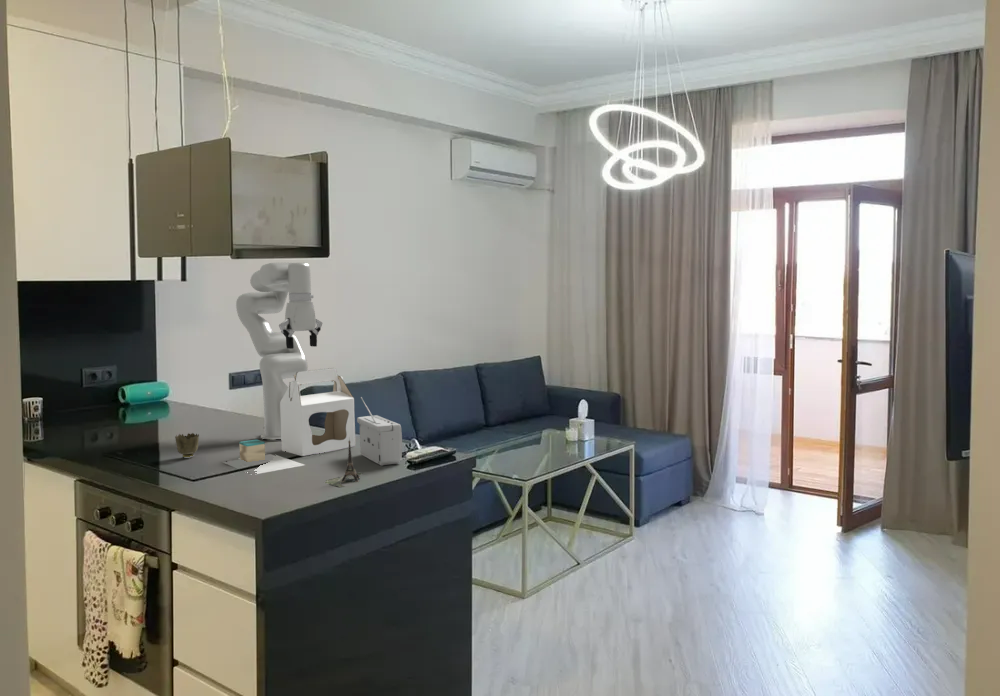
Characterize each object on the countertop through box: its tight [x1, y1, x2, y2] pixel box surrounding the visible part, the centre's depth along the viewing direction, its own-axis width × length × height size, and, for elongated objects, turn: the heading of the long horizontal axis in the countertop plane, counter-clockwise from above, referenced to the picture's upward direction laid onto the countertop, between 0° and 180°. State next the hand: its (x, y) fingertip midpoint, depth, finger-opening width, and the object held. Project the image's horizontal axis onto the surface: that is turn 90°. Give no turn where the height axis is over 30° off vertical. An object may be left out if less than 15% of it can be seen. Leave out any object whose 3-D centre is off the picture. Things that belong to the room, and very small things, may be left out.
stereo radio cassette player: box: [356, 396, 403, 467], centre depth 261 cm, size 21×8×20 cm, turn 29°
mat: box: [246, 454, 305, 476], centre depth 257 cm, size 24×18×1 cm
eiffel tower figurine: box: [324, 439, 363, 488], centre depth 236 cm, size 15×10×13 cm
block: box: [239, 439, 266, 462], centre depth 262 cm, size 6×6×6 cm
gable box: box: [280, 367, 356, 457], centre depth 278 cm, size 22×13×28 cm, turn 137°
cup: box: [174, 432, 200, 457], centre depth 267 cm, size 8×7×8 cm
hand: (301, 347), depth 278 cm, fingers open, 9 cm apart
